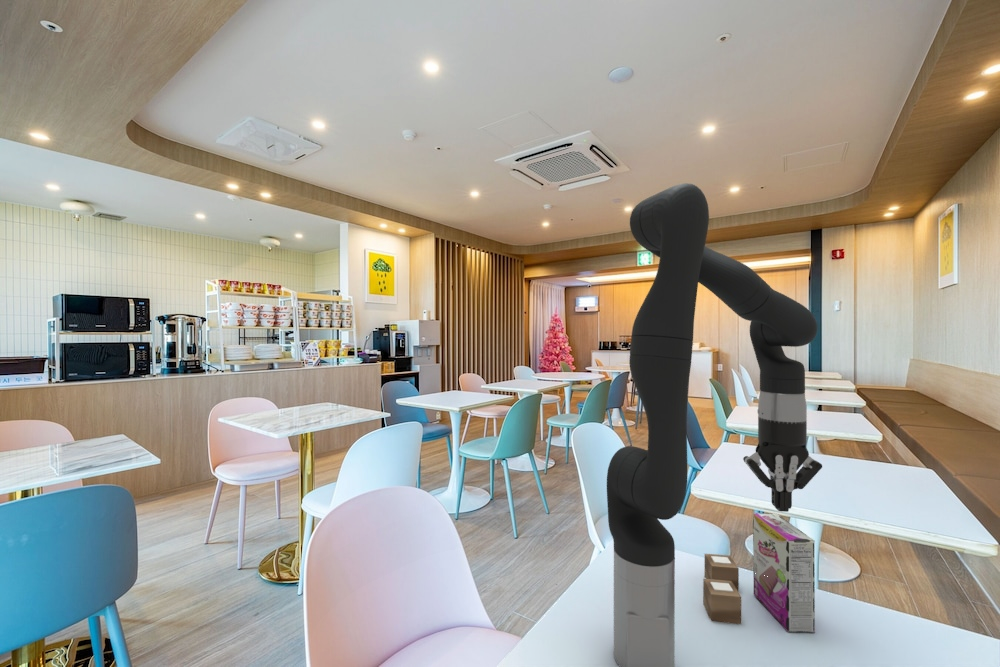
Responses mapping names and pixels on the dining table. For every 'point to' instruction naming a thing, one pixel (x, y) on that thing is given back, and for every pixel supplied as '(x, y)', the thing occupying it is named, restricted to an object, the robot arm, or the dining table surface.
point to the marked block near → (722, 601)
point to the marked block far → (721, 568)
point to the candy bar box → (784, 572)
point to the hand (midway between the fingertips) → (781, 509)
